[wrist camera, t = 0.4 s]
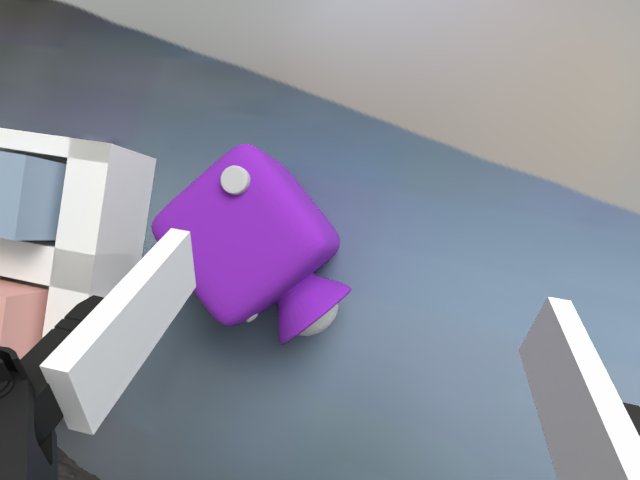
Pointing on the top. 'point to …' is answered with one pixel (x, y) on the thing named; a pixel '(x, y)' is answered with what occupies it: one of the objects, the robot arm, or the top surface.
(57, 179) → the key slate
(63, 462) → the bible
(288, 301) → the toy camera
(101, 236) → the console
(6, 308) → the key rose
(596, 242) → the top surface
